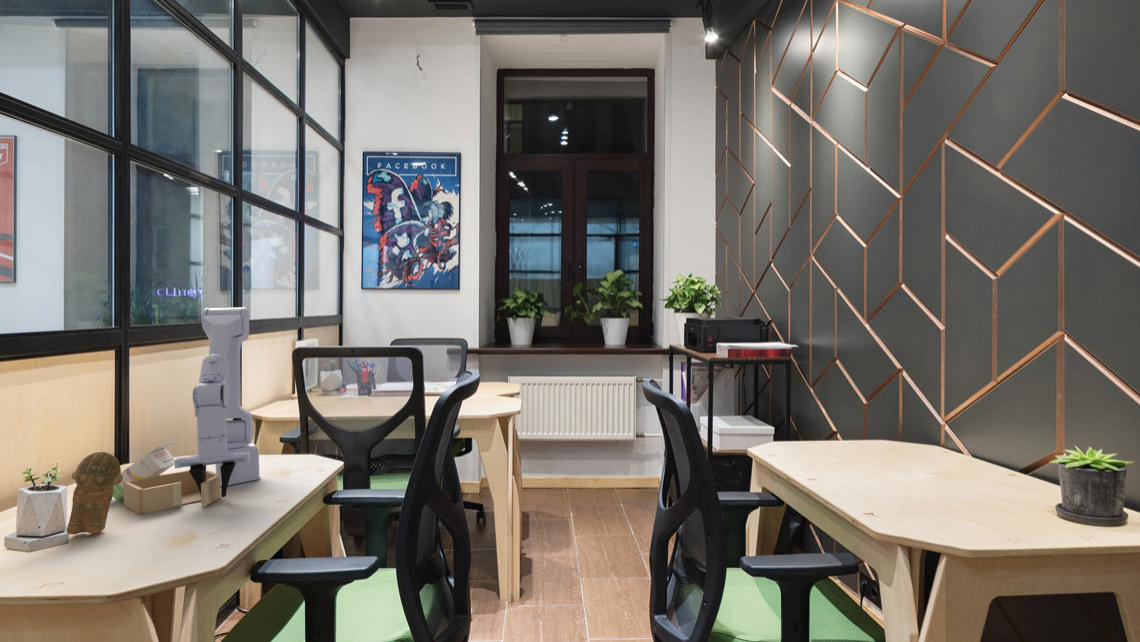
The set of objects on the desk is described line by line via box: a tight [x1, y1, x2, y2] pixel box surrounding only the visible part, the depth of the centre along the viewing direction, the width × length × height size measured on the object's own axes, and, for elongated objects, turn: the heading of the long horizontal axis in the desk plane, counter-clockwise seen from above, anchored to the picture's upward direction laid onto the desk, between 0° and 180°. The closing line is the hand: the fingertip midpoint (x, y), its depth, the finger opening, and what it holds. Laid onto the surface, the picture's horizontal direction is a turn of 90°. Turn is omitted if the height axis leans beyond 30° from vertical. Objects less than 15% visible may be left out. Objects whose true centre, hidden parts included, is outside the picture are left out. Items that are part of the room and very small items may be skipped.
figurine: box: [66, 451, 123, 535], centre depth 127 cm, size 8×8×15 cm
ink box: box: [112, 439, 176, 502], centre depth 153 cm, size 9×5×15 cm
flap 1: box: [142, 482, 183, 514], centre depth 141 cm, size 7×1×5 cm, turn 139°
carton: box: [123, 469, 219, 515], centre depth 148 cm, size 16×11×5 cm
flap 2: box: [200, 475, 221, 507], centre depth 146 cm, size 7×1×5 cm, turn 5°
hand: (214, 496), depth 145 cm, fingers open, 3 cm apart
